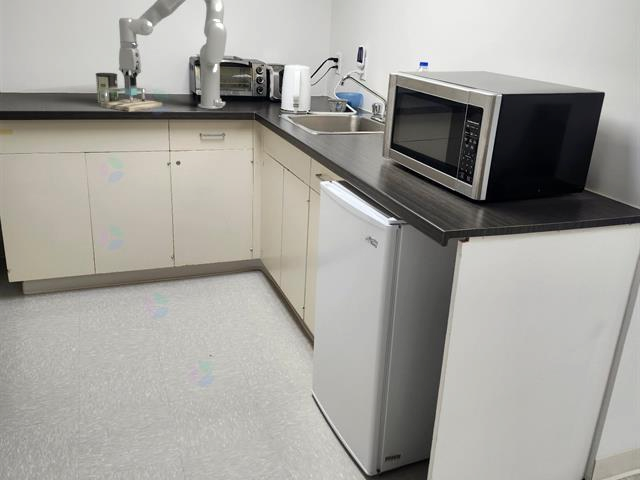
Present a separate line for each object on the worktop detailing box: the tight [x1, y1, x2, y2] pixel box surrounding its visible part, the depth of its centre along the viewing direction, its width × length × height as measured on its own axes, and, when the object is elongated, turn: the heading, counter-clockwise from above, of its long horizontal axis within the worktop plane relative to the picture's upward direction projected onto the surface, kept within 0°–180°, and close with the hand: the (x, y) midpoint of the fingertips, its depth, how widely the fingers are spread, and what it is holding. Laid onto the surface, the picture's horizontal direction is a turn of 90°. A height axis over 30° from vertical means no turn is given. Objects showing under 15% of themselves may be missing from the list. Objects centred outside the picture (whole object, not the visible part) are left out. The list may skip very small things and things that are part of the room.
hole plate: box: [100, 97, 163, 113], centre depth 290 cm, size 18×23×2 cm
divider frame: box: [104, 86, 146, 103], centre depth 289 cm, size 8×20×6 cm, turn 153°
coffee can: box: [95, 72, 120, 104], centre depth 297 cm, size 10×10×14 cm
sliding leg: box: [123, 74, 138, 102], centre depth 287 cm, size 4×5×12 cm
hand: (130, 84), depth 286 cm, fingers closed on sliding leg, 3 cm apart
